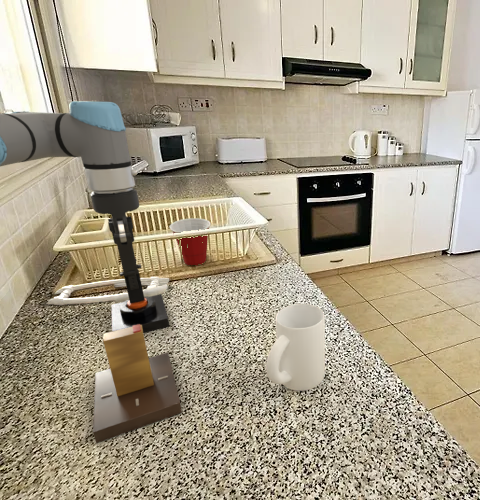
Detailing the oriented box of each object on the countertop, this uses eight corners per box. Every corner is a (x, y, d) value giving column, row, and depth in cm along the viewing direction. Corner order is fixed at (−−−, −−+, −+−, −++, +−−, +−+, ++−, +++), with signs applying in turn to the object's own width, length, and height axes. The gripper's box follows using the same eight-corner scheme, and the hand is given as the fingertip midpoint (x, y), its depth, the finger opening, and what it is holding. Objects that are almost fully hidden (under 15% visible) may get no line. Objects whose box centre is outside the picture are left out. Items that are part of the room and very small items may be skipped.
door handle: (167, 298, 89) (42, 314, 81) (171, 281, 98) (58, 293, 90) (166, 288, 88) (38, 303, 80) (170, 272, 97) (55, 283, 89)
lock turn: (117, 396, 57) (102, 339, 53) (117, 387, 58) (102, 332, 55) (154, 385, 59) (142, 330, 55) (152, 377, 61) (141, 323, 57)
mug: (251, 392, 61) (245, 330, 57) (297, 354, 70) (295, 298, 66) (289, 414, 57) (286, 348, 52) (333, 370, 66) (334, 312, 62)
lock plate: (98, 382, 62) (95, 371, 62) (169, 361, 68) (167, 351, 67) (96, 443, 51) (92, 431, 50) (182, 412, 57) (180, 401, 56)
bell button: (128, 306, 80) (126, 299, 79) (147, 302, 82) (145, 295, 81) (129, 314, 77) (127, 307, 76) (148, 310, 79) (147, 302, 78)
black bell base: (113, 313, 83) (109, 297, 81) (163, 302, 87) (160, 287, 86) (114, 341, 73) (109, 323, 72) (169, 327, 78) (166, 310, 77)
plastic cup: (174, 272, 103) (167, 231, 99) (176, 258, 112) (170, 219, 108) (216, 267, 107) (211, 227, 102) (214, 253, 116) (209, 216, 112)
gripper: (138, 194, 67) (160, 309, 75) (134, 181, 77) (153, 284, 86) (88, 198, 63) (117, 319, 72) (90, 185, 73) (116, 291, 82)
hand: (137, 300), depth 79 cm, fingers closed
